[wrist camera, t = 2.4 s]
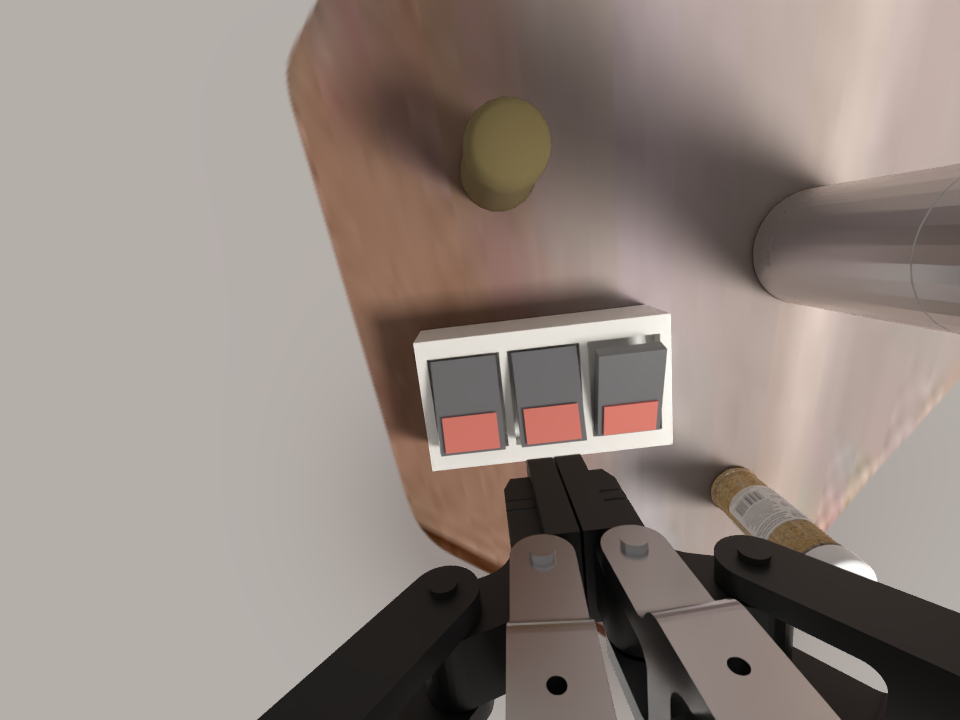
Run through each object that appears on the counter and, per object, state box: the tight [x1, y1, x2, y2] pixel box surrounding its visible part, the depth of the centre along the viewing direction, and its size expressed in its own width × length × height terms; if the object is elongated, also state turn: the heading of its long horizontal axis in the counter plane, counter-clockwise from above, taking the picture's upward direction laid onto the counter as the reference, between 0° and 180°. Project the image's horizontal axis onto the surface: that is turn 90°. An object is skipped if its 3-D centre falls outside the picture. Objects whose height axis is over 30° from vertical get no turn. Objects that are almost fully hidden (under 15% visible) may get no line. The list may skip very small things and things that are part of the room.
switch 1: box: [430, 355, 506, 457], centre depth 35 cm, size 5×7×1 cm
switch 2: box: [594, 342, 667, 436], centre depth 35 cm, size 5×7×1 cm
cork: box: [460, 97, 551, 211], centre depth 31 cm, size 6×6×11 cm
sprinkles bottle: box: [711, 468, 877, 582], centre depth 37 cm, size 5×5×13 cm
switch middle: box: [510, 346, 587, 448], centre depth 35 cm, size 5×7×1 cm
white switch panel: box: [413, 305, 673, 471], centre depth 38 cm, size 19×10×5 cm, turn 97°
